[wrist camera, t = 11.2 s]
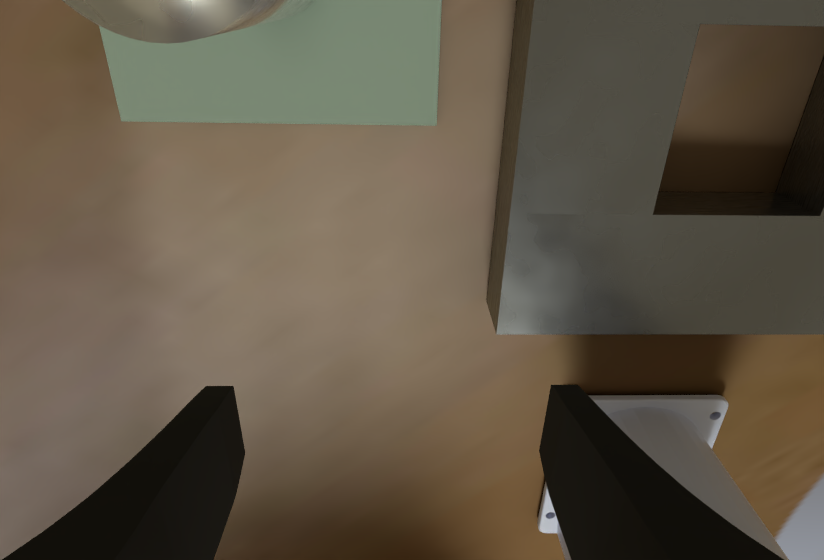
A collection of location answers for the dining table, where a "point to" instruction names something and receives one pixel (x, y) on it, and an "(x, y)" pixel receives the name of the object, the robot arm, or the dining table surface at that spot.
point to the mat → (290, 69)
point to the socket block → (642, 184)
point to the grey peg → (183, 16)
